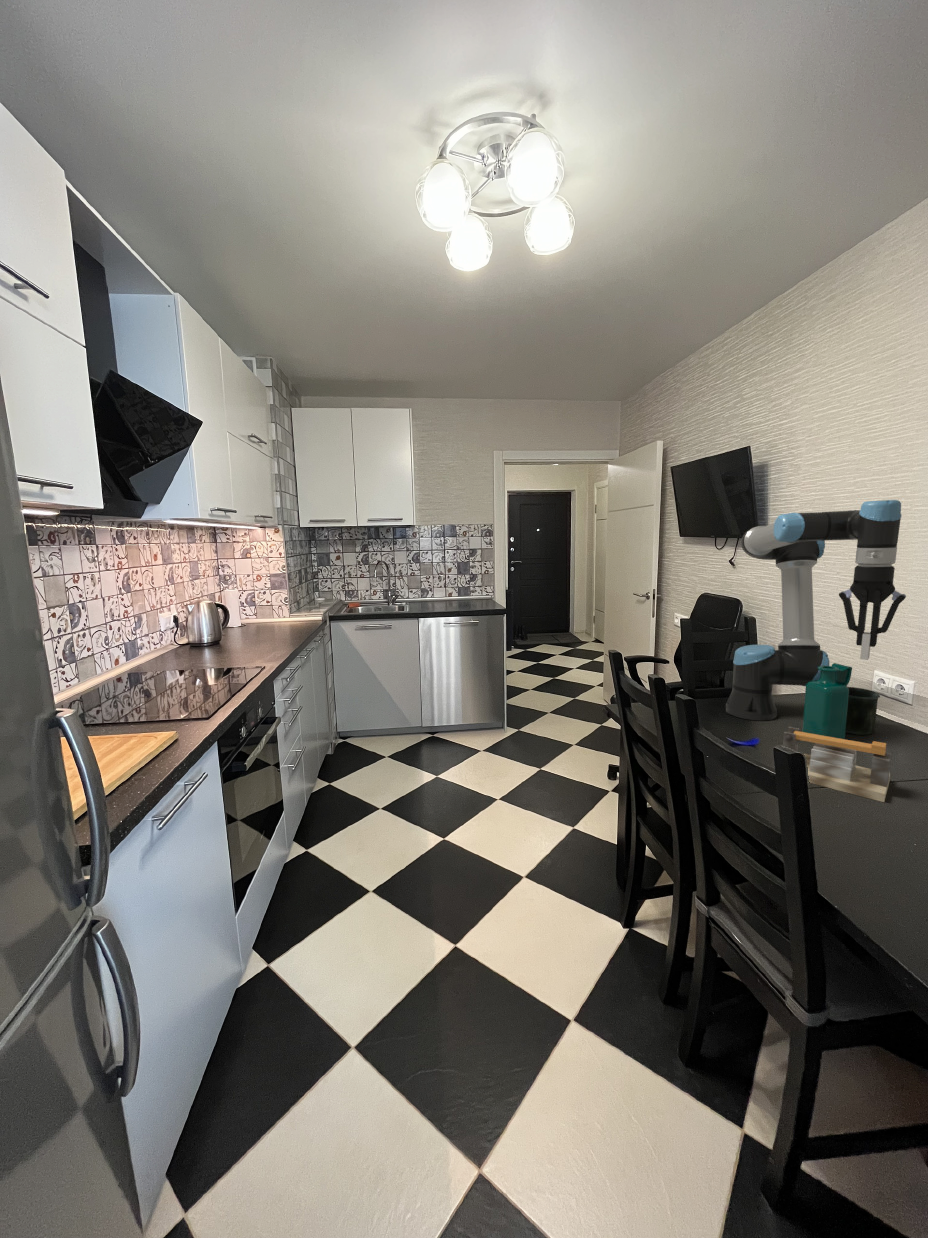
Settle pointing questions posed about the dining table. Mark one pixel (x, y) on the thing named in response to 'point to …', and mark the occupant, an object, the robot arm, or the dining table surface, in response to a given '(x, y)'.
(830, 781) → the clear acrylic stand
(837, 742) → the wooden stick
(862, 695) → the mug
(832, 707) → the pitcher
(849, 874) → the dining table surface
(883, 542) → the robot arm
